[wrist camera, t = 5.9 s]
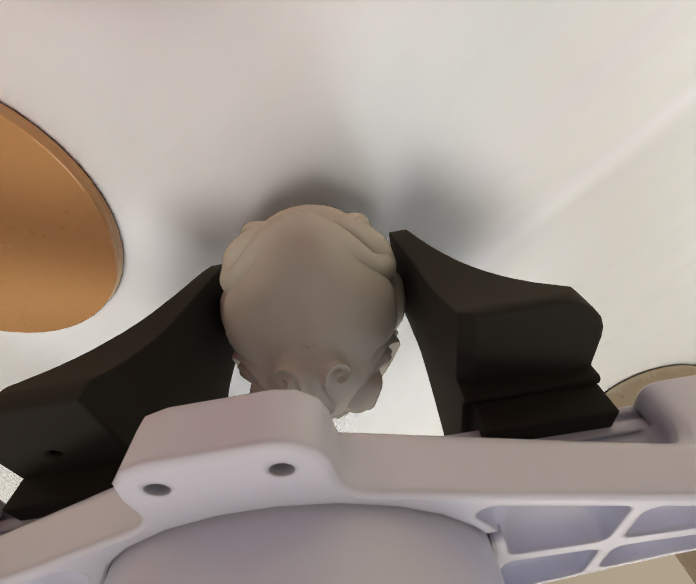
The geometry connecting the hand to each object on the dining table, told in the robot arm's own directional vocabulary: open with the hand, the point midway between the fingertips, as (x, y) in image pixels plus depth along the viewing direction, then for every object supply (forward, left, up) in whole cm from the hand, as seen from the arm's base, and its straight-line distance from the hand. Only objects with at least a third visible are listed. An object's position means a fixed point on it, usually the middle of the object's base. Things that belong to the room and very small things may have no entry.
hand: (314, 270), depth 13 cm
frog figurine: (0, 0, -2) cm, 2 cm away
